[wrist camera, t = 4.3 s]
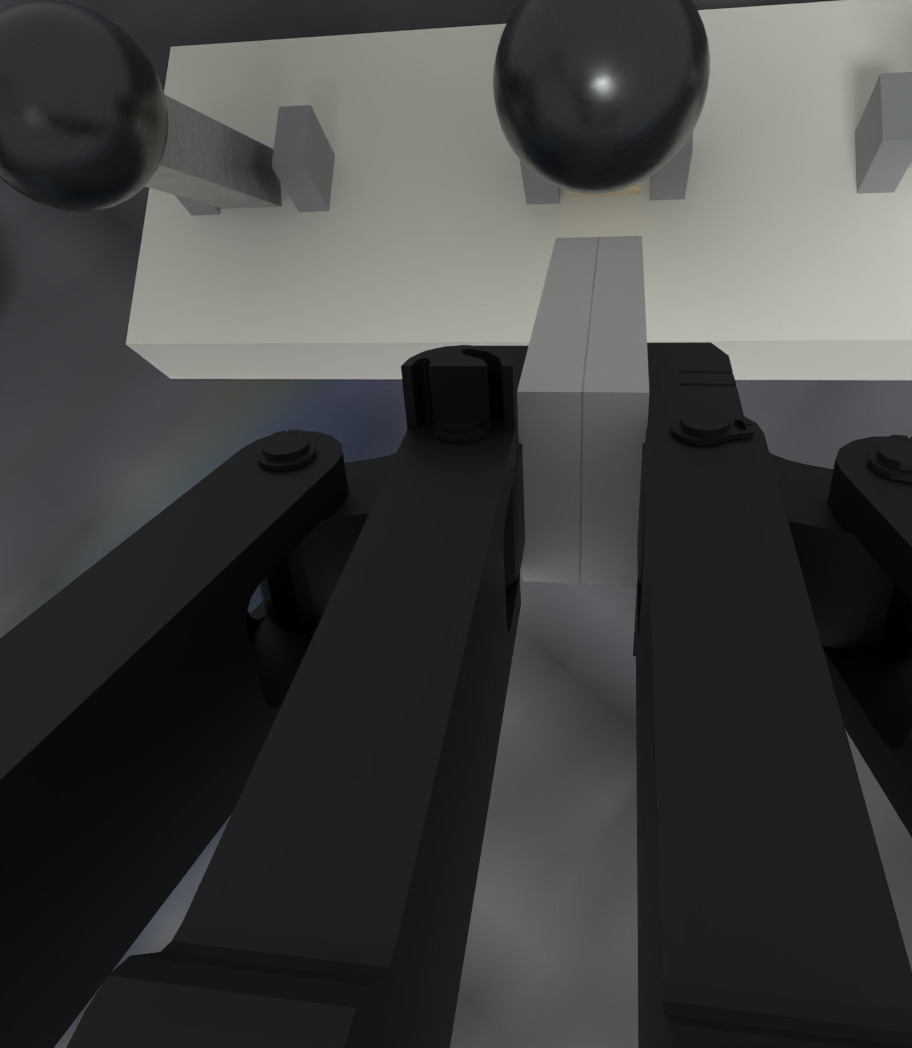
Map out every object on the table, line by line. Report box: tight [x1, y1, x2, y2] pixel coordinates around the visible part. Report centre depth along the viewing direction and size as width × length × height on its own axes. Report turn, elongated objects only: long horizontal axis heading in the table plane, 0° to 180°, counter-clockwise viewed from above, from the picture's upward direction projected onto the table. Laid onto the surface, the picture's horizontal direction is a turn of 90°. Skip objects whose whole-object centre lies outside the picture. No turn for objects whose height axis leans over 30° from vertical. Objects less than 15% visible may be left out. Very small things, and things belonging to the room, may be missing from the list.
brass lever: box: [493, 0, 710, 197], centre depth 20 cm, size 4×4×12 cm
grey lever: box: [0, 0, 282, 212], centre depth 22 cm, size 4×4×12 cm
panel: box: [126, 0, 912, 380], centre depth 27 cm, size 11×30×5 cm, turn 86°
